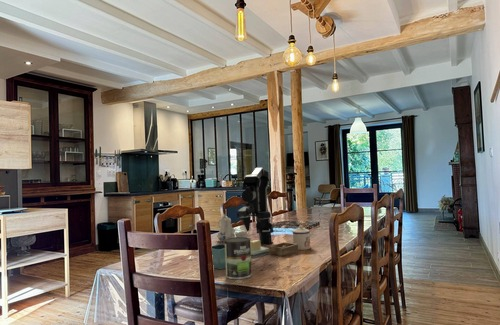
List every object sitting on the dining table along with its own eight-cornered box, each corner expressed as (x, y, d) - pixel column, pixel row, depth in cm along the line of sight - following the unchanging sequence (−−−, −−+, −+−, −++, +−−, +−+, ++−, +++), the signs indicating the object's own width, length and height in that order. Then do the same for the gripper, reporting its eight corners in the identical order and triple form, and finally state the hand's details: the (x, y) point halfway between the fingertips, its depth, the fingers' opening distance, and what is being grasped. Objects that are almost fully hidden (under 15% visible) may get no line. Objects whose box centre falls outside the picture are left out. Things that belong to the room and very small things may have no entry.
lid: (241, 253, 165) (240, 242, 165) (256, 249, 173) (256, 238, 173) (253, 256, 159) (253, 244, 159) (269, 251, 166) (268, 240, 166)
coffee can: (256, 276, 129) (254, 239, 130) (232, 281, 124) (230, 243, 125) (244, 270, 138) (243, 235, 139) (221, 274, 133) (220, 239, 134)
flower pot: (206, 268, 144) (205, 247, 144) (222, 263, 150) (221, 243, 151) (219, 271, 138) (218, 249, 138) (235, 266, 144) (234, 245, 144)
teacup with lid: (308, 250, 167) (306, 227, 168) (290, 249, 171) (289, 226, 171) (314, 245, 178) (313, 223, 178) (297, 244, 182) (296, 223, 182)
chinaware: (254, 243, 198) (255, 215, 200) (229, 245, 189) (231, 215, 190) (229, 237, 221) (231, 212, 223) (207, 239, 212) (208, 212, 214)
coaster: (238, 254, 166) (238, 253, 166) (255, 250, 174) (255, 248, 174) (255, 258, 157) (255, 256, 157) (272, 253, 166) (272, 251, 166)
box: (269, 254, 163) (269, 246, 164) (284, 250, 171) (283, 242, 171) (283, 256, 157) (283, 248, 157) (298, 252, 165) (297, 244, 165)
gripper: (228, 201, 168) (229, 232, 167) (254, 202, 154) (256, 236, 154) (244, 199, 175) (245, 229, 175) (270, 200, 162) (272, 232, 161)
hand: (254, 231), depth 166 cm, fingers open, 9 cm apart
